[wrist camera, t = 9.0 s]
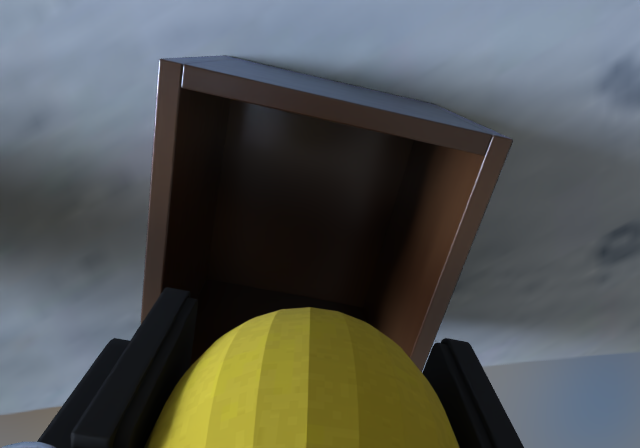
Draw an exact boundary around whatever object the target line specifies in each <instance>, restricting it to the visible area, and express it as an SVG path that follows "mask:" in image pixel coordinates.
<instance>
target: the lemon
mask: <svg viewBox="0 0 640 448" xmlns="http://www.w3.org/2000/svg"><path fill="white" fill-rule="evenodd" d="M144 448H460V447H459V445H458V442H457V440H456V437H455V435H454V432H453V430H452V427H451V425H450V422H449V420H448V417H447V415H446V412H445V410H444V408H443V406H442V404H441V402H440V400H439V398H438V396H437V394H436V392H435V391H434V389H433V388H432V386H431V384H430V383H429V381H428V380H427V379H426V377H425V376H424V375H423V374H422V372H421V371H420V370H419V369H418V367H417V366H416V365H415V364H414V363H413V361H412V360H411V359H410V358H409V357H408V355H407V354H406V353H405V352H404V351H403V349H402V348H401V347H400V346H399V345H398V344H396V343H395V342H394V341H393V340H392V339H390V338H389V337H387V336H386V335H384V334H383V333H382V332H380V331H379V330H377V329H376V328H374V327H373V326H371V325H370V324H368V323H366V322H364V321H362V320H359V319H357V318H354V317H351V316H349V315H346V314H343V313H341V312H338V311H332V310H325V309H319V308H312V307H306V308H292V309H281V310H278V311H274V312H271V313H268V314H264V315H261V316H258V317H255V318H253V319H250V320H248V321H247V322H245V323H243V324H241V325H240V326H238V327H236V328H234V329H233V330H231V331H229V332H227V333H226V334H224V335H223V336H221V337H220V338H219V339H218V340H216V341H215V342H214V343H213V344H212V345H211V346H210V347H209V348H208V349H207V350H206V351H205V352H204V353H203V354H202V355H201V356H200V357H199V358H198V359H197V360H196V361H195V362H194V363H193V364H192V366H191V367H190V368H189V369H188V370H187V371H186V372H185V373H184V375H183V376H182V378H181V379H180V380H179V382H178V383H177V384H176V386H175V388H174V389H173V391H172V393H171V394H170V396H169V398H168V399H167V401H166V403H165V405H164V407H163V409H162V411H161V413H160V415H159V417H158V419H157V421H156V423H155V425H154V427H153V429H152V431H151V433H150V435H149V438H148V440H147V442H146V444H145V446H144Z"/></svg>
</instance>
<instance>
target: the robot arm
mask: <svg viewBox="0 0 640 448" xmlns="http://www.w3.org/2000/svg"><path fill="white" fill-rule="evenodd" d="M197 308H198V299H194V298H191V292H190V291H185V290H179V289H174V288H169V287H166V288H165V289H164V290H163V291H162V293H161V294H160V296H159V298H158V299H157V301H156V302H155V304H154V305H153V307H152V308H151V310H150V311H149V313H148V315H147V316H146V318H145V319H144V321H143V322H142V324H141V325H140V327H139V328H138V330H137V331H136V333H135V335H134V336H133V338H132V339H131V341H128V340H122V339H116V338H114V339H112V340H111V341H110V342H109V343H108V344H107V345H106V347H105V348H104V349H103V351H102V352H101V353H100V355H99V356H98V358H97V359H96V360H95V362H94V363H93V365H92V366H91V367H90V369H89V370H88V372H87V373H86V374H85V376H84V377H83V378H82V380H81V381H80V383H79V384H78V385H77V387H76V388H75V390H74V391H73V392H72V394H71V395H70V396H69V398H68V399H67V401H66V402H65V403H64V405H63V406H62V408H61V409H60V410H59V412H58V413H57V415H56V416H55V417H54V419H53V420H52V421H51V423H50V424H49V426H48V427H47V429H46V430H45V431H44V433H43V434H42V435H41V437H40V438H39V440H38V441H37V442H20V443H15V444H11V445H7V446H4V447H1V448H144V446H145V444H146V442H147V440H148V438H149V435H150V433H151V431H152V429H153V427H154V425H155V423H156V421H157V419H158V417H159V415H160V413H161V411H162V409H163V407H164V405H165V403H166V401H167V399H168V398H169V396H170V394H171V393H172V391H173V389H174V388H175V386H176V384H177V383H178V382H179V380H180V379H181V378H182V376H183V375H184V373H185V372H186V371H187V370H188V369H189V368H190V363H191V355H192V347H193V339H194V332H195V324H196V316H197ZM422 374H423V375H424V376H425V377H426V379H427V380H428V381H429V383H430V384H431V386H432V388H433V389H434V391H435V392H436V394H437V396H438V398H439V400H440V402H441V404H442V406H443V408H444V410H445V412H446V415H447V417H448V420H449V422H450V425H451V427H452V430H453V432H454V435H455V437H456V440H457V442H458V445H459V447H460V448H524V447H523V445H522V443H521V441H520V439H519V437H518V435H517V433H516V431H515V429H514V427H513V426H512V424H511V422H510V420H509V418H508V416H507V414H506V412H505V410H504V408H503V406H502V404H501V402H500V401H499V399H498V397H497V395H496V393H495V391H494V389H493V387H492V385H491V383H490V381H489V379H488V377H487V376H486V374H485V372H484V370H483V368H482V366H481V364H480V362H479V360H478V358H477V356H476V354H475V352H474V350H473V349H472V347H471V345H470V344H469V343H468V342H464V341H458V340H453V339H447V338H445V339H443V340H442V341H441V343H435V344H434V346H433V348H432V350H431V353H430V355H429V358H428V360H427V363H426V365H425V368H424V371H423V373H422Z"/></svg>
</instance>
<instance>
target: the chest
mask: <svg viewBox="0 0 640 448" xmlns="http://www.w3.org/2000/svg"><path fill="white" fill-rule="evenodd" d="M512 142H513V140H512V139H511V138H509V137H507V136H504V135H502V134H500V133H498V132H496V131H493V130H491V129H489V128H487V127H484V126H482V125H480V124H478V123H476V122H473V121H471V120H469V119H467V118H464V117H462V116H460V115H458V114H456V113H453V112H451V111H449V110H447V109H444V108H442V107H440V106H438V105H436V104H432V103H428V102H424V101H419V100H415V99H411V98H406V97H402V96H398V95H394V94H389V93H385V92H381V91H376V90H372V89H368V88H363V87H359V86H355V85H350V84H346V83H342V82H338V81H333V80H329V79H325V78H320V77H316V76H312V75H307V74H303V73H299V72H295V71H290V70H286V69H282V68H277V67H273V66H269V65H264V64H260V63H256V62H252V61H247V60H243V59H239V58H234V57H230V56H226V55H225V56H205V57H185V58H165V59H160V60H159V68H158V83H157V97H156V112H155V126H154V140H153V155H152V169H151V183H150V198H149V212H148V227H147V241H146V255H145V270H144V284H143V299H142V313H141V324H142V322H143V321H144V319H145V318H146V316H147V315H148V313H149V311H150V310H151V308H152V307H153V305H154V304H155V302H156V301H157V299H158V298H159V296H160V294H161V293H162V291H163V290H164V289H165V288H166V287H169V288H174V289H179V290H185V291H190V292H191V298H194V299H198V308H197V316H196V324H195V332H194V339H193V347H192V355H191V363H190V367H191V366H192V364H193V363H194V362H195V361H196V360H197V359H198V358H199V357H200V356H201V355H202V354H203V353H204V352H205V351H206V350H207V349H208V348H209V347H210V346H211V345H212V344H213V343H214V342H215V341H216V340H218V339H219V338H220V337H221V336H223V335H224V334H226V333H227V332H229V331H231V330H233V329H234V328H236V327H238V326H240V325H241V324H243V323H245V322H247V321H248V320H250V319H253V318H255V317H258V316H261V315H264V314H268V313H271V312H274V311H278V310H281V309H292V308H306V307H312V308H319V309H325V310H332V311H338V312H341V313H343V314H346V315H349V316H351V317H354V318H357V319H359V320H362V321H364V322H366V323H368V324H370V325H371V326H373V327H374V328H376V329H377V330H379V331H380V332H382V333H383V334H384V335H386V336H387V337H389V338H390V339H392V340H393V341H394V342H395V343H396V344H398V345H399V346H400V347H401V348H402V349H403V351H404V352H405V353H406V354H407V355H408V357H409V358H410V359H411V360H412V361H413V363H414V364H415V365H416V366H417V367H418V369H419V370H420V371H421V372H422V370H423V368H424V365H425V362H426V360H427V357H428V355H429V352H430V350H431V347H432V345H433V342H434V340H435V337H436V335H437V332H438V330H439V327H440V324H441V322H442V319H443V317H444V314H445V312H446V309H447V307H448V304H449V302H450V299H451V297H452V294H453V292H454V289H455V286H456V284H457V281H458V279H459V276H460V274H461V271H462V269H463V266H464V264H465V261H466V259H467V256H468V253H469V251H470V248H471V246H472V243H473V241H474V238H475V236H476V233H477V231H478V228H479V226H480V223H481V221H482V218H483V215H484V213H485V210H486V208H487V205H488V203H489V200H490V198H491V195H492V193H493V190H494V188H495V185H496V183H497V180H498V177H499V175H500V172H501V170H502V167H503V165H504V162H505V160H506V157H507V155H508V152H509V150H510V147H511V145H512Z"/></svg>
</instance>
